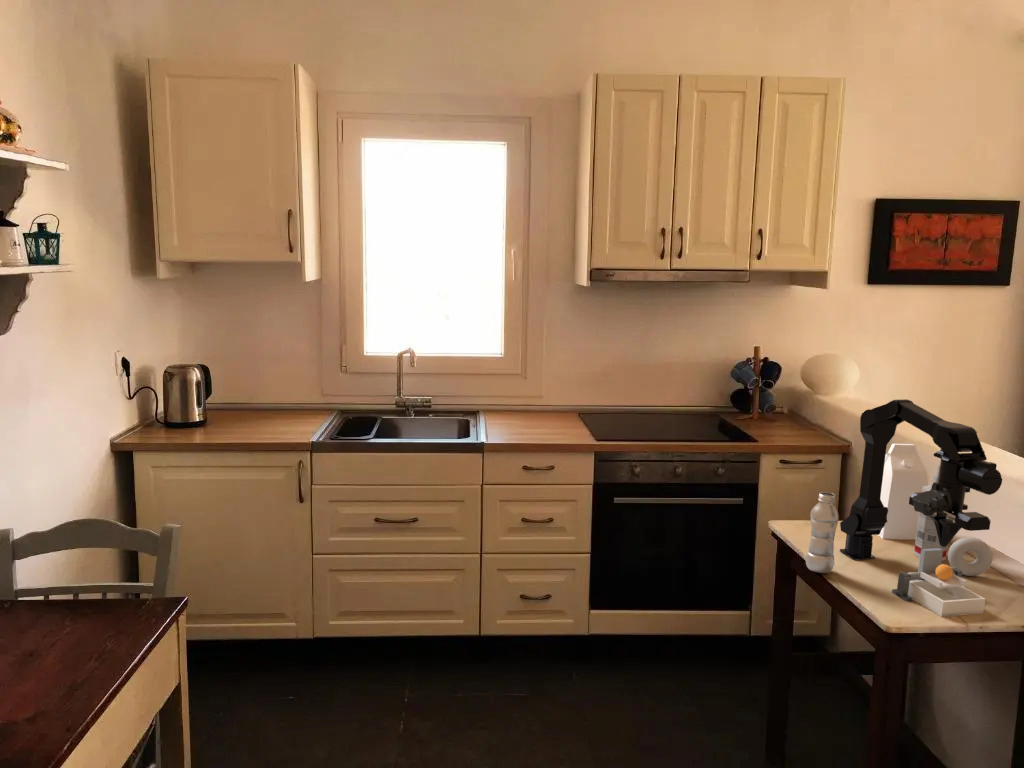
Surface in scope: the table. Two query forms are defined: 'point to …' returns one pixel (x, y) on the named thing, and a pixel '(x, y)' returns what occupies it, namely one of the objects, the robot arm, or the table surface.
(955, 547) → the donut
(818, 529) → the plastic bottle
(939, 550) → the lever
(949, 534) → the robot arm
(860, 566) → the table surface
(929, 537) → the spray bottle
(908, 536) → the milk
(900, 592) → the stand
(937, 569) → the ball
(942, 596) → the white storage bin
